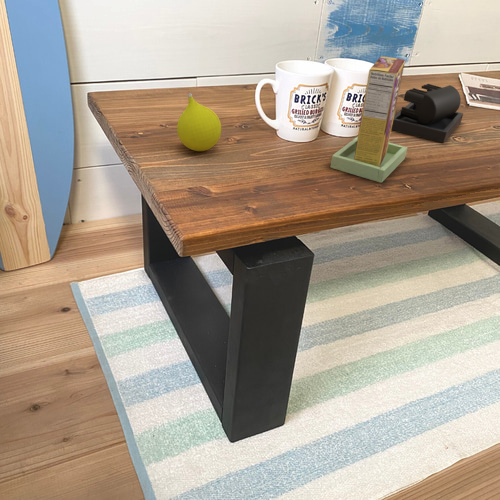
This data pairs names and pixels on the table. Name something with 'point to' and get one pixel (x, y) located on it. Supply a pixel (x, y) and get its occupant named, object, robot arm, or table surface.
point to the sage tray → (346, 163)
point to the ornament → (198, 126)
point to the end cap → (431, 104)
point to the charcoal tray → (433, 131)
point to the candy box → (379, 110)
